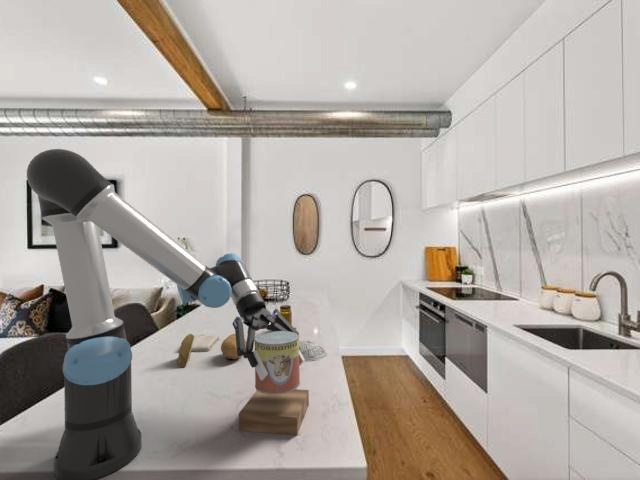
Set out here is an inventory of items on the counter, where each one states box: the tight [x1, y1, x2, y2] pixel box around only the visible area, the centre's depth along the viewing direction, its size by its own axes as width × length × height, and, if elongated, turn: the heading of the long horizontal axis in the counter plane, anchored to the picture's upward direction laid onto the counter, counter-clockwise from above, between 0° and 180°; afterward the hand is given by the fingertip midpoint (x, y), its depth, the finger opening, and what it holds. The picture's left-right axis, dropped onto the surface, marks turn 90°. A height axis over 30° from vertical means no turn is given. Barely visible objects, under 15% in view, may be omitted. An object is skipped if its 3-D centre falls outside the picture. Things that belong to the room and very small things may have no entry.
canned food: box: [254, 330, 301, 395], centre depth 84 cm, size 11×11×12 cm
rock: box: [176, 333, 195, 368], centre depth 123 cm, size 11×9×10 cm
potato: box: [220, 333, 247, 361], centre depth 127 cm, size 10×14×8 cm
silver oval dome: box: [299, 339, 328, 363], centre depth 130 cm, size 16×25×7 cm, turn 93°
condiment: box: [279, 304, 297, 329], centre depth 166 cm, size 7×8×12 cm
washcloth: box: [191, 334, 220, 353], centre depth 143 cm, size 12×18×3 cm, turn 4°
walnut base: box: [238, 388, 310, 436], centre depth 84 cm, size 14×14×4 cm
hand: (284, 370), depth 83 cm, fingers closed on canned food, 11 cm apart
